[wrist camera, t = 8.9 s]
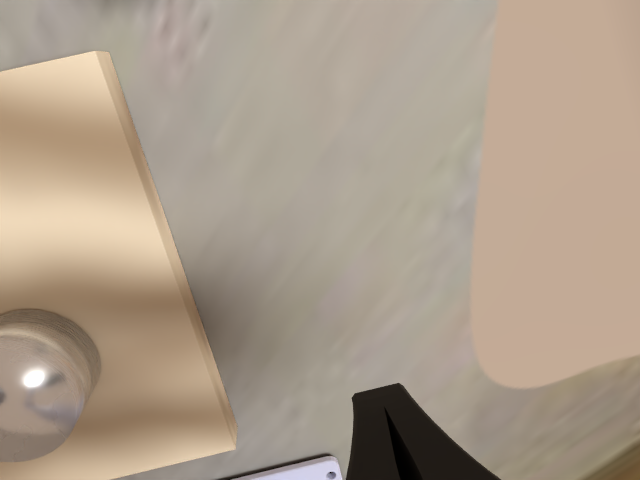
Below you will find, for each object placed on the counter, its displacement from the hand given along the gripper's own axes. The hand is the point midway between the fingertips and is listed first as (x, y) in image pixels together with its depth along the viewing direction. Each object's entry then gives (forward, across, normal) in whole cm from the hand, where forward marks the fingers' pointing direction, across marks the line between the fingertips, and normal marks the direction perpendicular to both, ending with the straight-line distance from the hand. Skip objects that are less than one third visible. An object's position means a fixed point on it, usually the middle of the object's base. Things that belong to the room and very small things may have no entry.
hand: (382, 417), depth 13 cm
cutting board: (+9, +13, -2) cm, 16 cm away
